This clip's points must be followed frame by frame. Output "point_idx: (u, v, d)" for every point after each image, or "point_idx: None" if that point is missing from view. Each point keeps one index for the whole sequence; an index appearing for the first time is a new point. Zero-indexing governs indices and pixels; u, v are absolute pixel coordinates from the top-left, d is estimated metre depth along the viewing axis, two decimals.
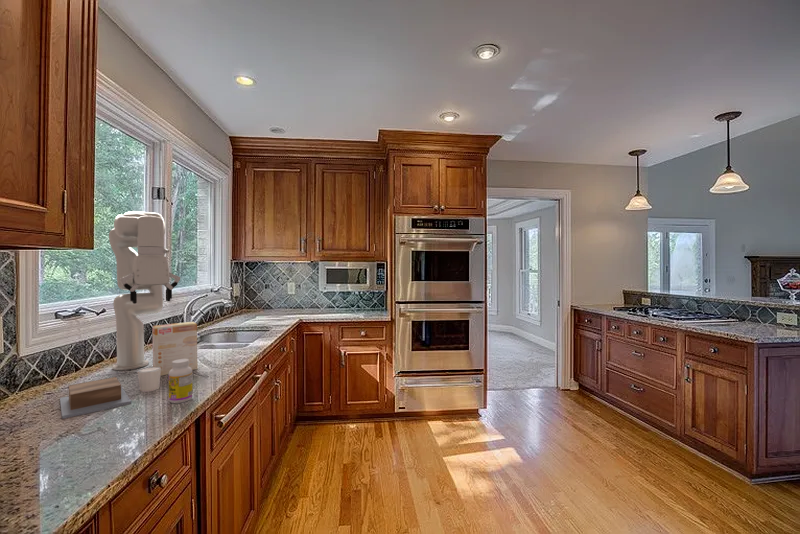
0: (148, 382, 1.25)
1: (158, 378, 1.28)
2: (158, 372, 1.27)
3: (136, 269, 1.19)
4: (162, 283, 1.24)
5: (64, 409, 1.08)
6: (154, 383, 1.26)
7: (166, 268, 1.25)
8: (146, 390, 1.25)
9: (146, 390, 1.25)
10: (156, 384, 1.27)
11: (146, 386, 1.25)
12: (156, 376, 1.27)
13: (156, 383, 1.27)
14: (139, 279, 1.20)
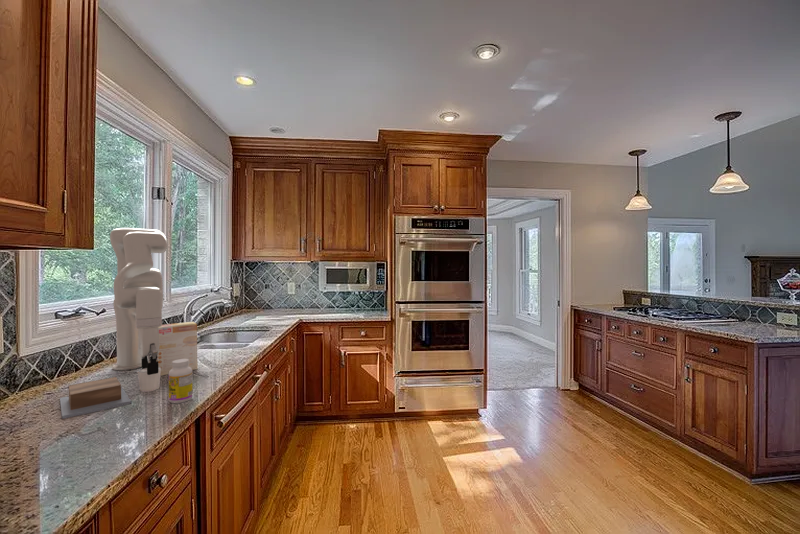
0: (148, 382, 1.25)
1: (158, 378, 1.28)
2: (158, 372, 1.27)
3: (158, 340, 1.25)
4: None
5: (64, 409, 1.08)
6: (154, 383, 1.26)
7: None
8: (146, 390, 1.25)
9: (146, 390, 1.25)
10: (156, 384, 1.27)
11: (146, 386, 1.25)
12: (156, 376, 1.27)
13: (156, 383, 1.27)
14: None
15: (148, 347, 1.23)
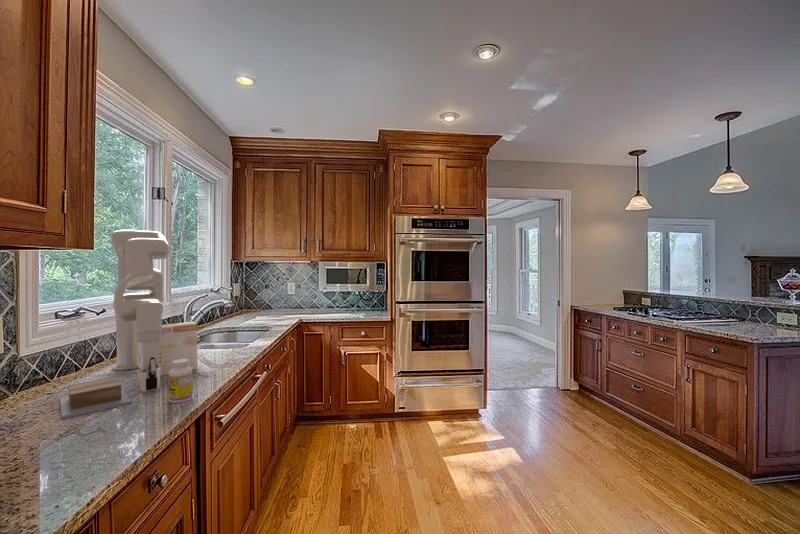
0: None
1: (158, 378, 1.28)
2: (158, 372, 1.27)
3: (158, 354, 1.26)
4: None
5: (64, 409, 1.08)
6: None
7: None
8: (146, 390, 1.25)
9: (146, 390, 1.25)
10: None
11: None
12: None
13: None
14: (158, 362, 1.26)
15: (148, 361, 1.23)
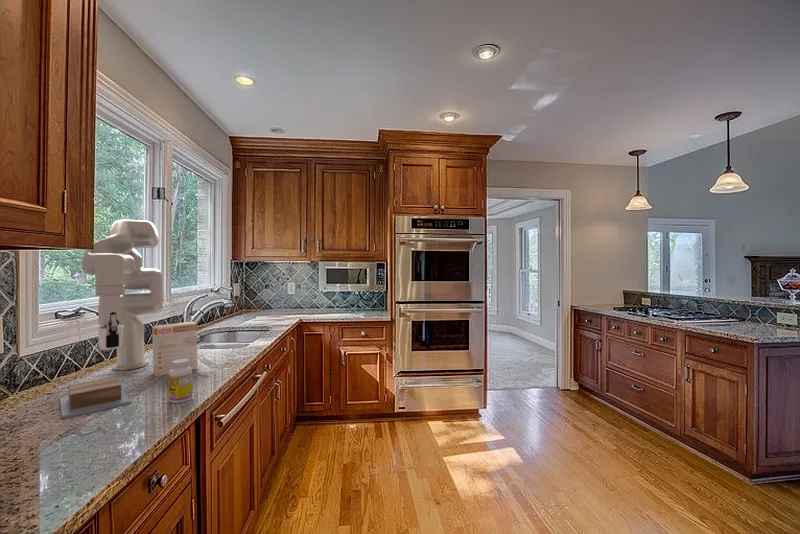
0: None
1: (120, 336, 1.19)
2: (120, 329, 1.19)
3: (120, 309, 1.17)
4: None
5: (64, 409, 1.08)
6: None
7: None
8: (107, 348, 1.16)
9: None
10: None
11: None
12: (118, 333, 1.18)
13: None
14: (120, 318, 1.18)
15: (108, 316, 1.14)
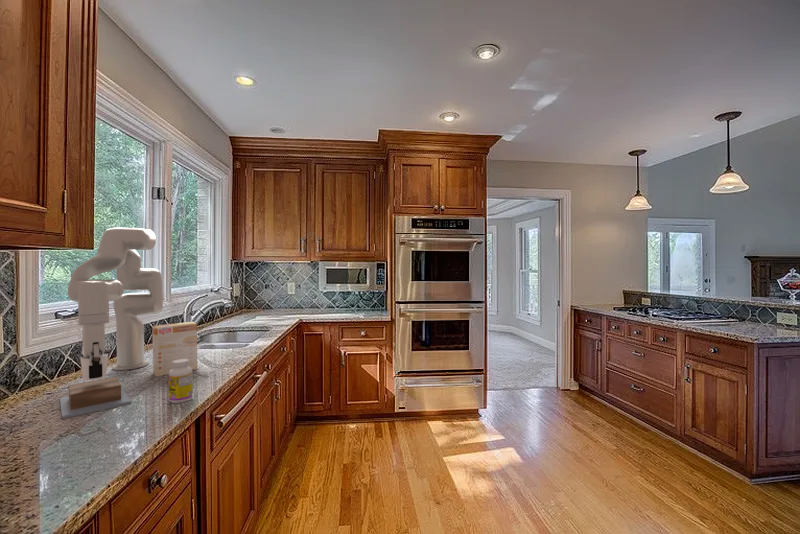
0: None
1: (104, 365, 1.16)
2: (104, 359, 1.15)
3: (104, 338, 1.14)
4: None
5: (64, 409, 1.08)
6: None
7: None
8: None
9: None
10: None
11: None
12: None
13: None
14: None
15: (91, 346, 1.11)
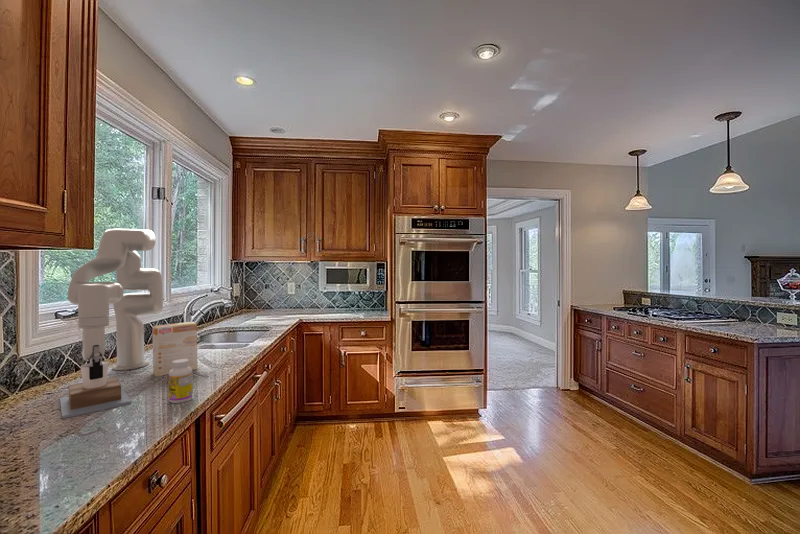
0: None
1: (104, 374, 1.15)
2: (104, 367, 1.15)
3: (104, 341, 1.14)
4: None
5: (64, 409, 1.08)
6: (99, 379, 1.14)
7: None
8: (89, 387, 1.13)
9: (90, 386, 1.12)
10: (101, 380, 1.15)
11: (89, 382, 1.12)
12: None
13: (101, 379, 1.14)
14: None
15: (91, 349, 1.11)
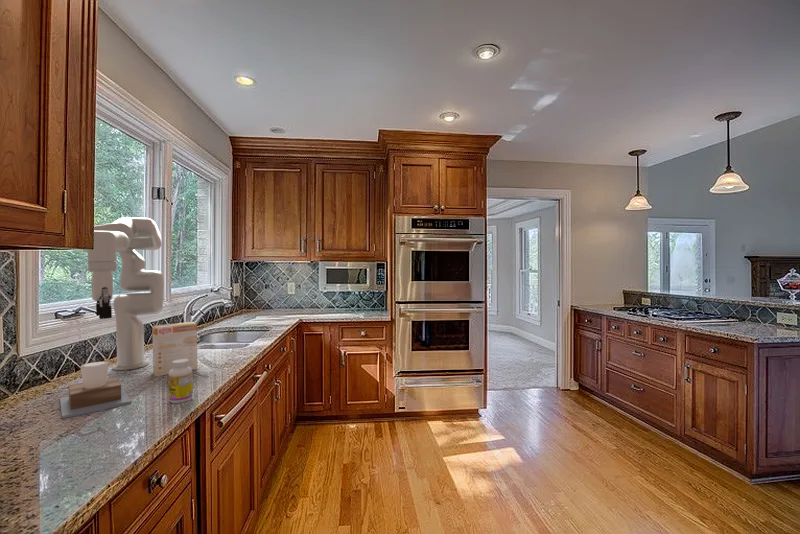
0: (92, 378, 1.12)
1: (104, 374, 1.15)
2: (104, 367, 1.15)
3: (112, 284, 1.22)
4: None
5: (64, 409, 1.08)
6: (99, 379, 1.14)
7: None
8: (89, 387, 1.13)
9: (90, 386, 1.12)
10: (101, 380, 1.15)
11: (89, 382, 1.12)
12: (101, 371, 1.14)
13: (101, 379, 1.14)
14: (112, 293, 1.23)
15: (100, 291, 1.19)
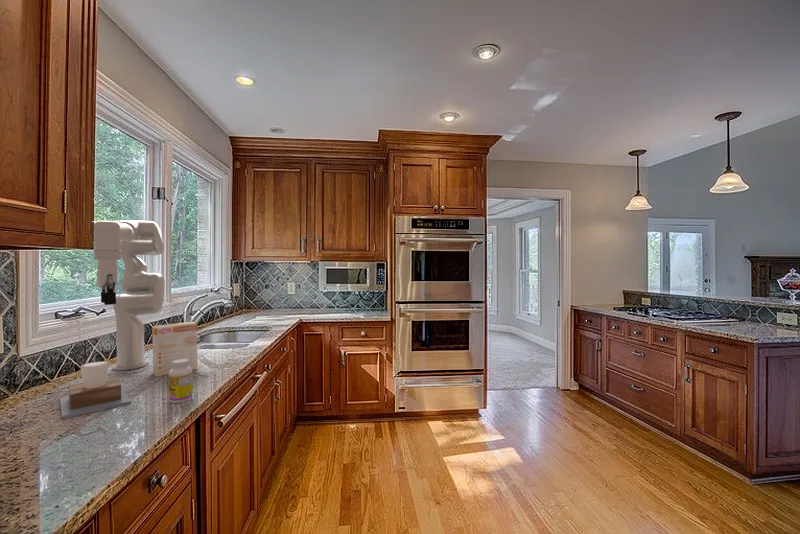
0: (92, 378, 1.12)
1: (104, 374, 1.15)
2: (104, 367, 1.15)
3: (116, 272, 1.27)
4: None
5: (64, 409, 1.08)
6: (99, 379, 1.14)
7: None
8: (89, 387, 1.13)
9: (90, 386, 1.12)
10: (101, 380, 1.15)
11: (89, 382, 1.12)
12: (101, 371, 1.14)
13: (101, 379, 1.14)
14: None
15: (105, 277, 1.24)
